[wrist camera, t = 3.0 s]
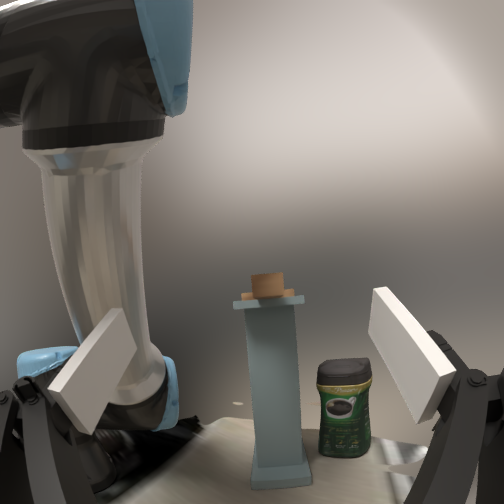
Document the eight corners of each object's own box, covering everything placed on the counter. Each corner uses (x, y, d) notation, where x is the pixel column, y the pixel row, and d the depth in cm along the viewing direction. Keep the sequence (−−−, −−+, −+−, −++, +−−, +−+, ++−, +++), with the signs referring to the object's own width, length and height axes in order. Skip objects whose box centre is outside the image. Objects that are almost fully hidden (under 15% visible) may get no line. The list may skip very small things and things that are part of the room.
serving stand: (251, 489, 29) (232, 301, 34) (256, 444, 44) (243, 302, 50) (311, 484, 28) (303, 295, 34) (301, 441, 44) (292, 298, 50)
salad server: (225, 299, 24) (224, 277, 24) (247, 302, 50) (246, 291, 50) (311, 292, 24) (309, 269, 24) (288, 298, 50) (287, 287, 50)
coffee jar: (373, 439, 38) (375, 352, 42) (364, 460, 32) (368, 363, 35) (327, 438, 43) (325, 355, 47) (312, 457, 37) (309, 365, 41)
